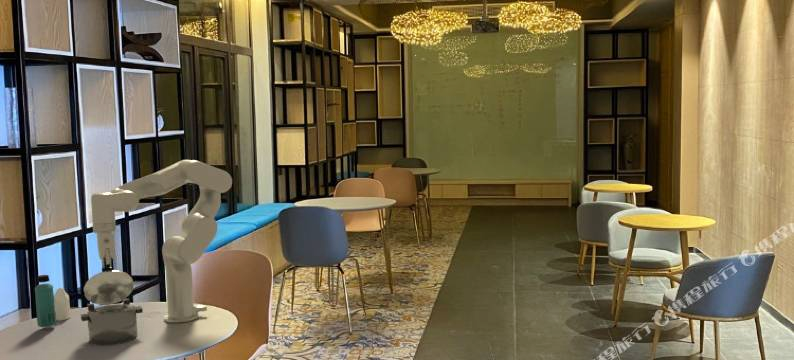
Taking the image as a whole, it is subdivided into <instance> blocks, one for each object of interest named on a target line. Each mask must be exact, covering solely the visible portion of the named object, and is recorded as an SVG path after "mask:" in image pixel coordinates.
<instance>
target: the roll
mask: <svg viewBox="0 0 794 360" xmlns="http://www.w3.org/2000/svg"><path fill="white" fill-rule="evenodd" d="M54 300H55V301H54V302H55V303H54V304H55V311H56V322H57V321H59V322H60V321H65V320H69V319H71V308H70V307H71V306H70V305H71V304H70V294H68V293H67V292H66V291H65V289H64V288H62V287H59V288H57V289H56V291H55V293H54Z"/></svg>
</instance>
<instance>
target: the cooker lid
mask: <svg viewBox="0 0 794 360" xmlns="http://www.w3.org/2000/svg"><path fill="white" fill-rule="evenodd" d="M133 289H134V281H133V278H132V277H131V276H130V274H128V273H127V272H124V271H121V270H117V269H116V270H115V269H114V270H113V269H112V270H110V271H104V272H102V271H101V272H99V273H97V274H94V275H93V276H92V277H90V278H89V279H88V280H87V281H86V283H85V284H84V287H83V292H84V297H85V299H87V301H89V302H90V303H91V304H92V303H94V305H99V306H100V305H101V306H106V305H115V304H118V303H120V302H123V299H127V297H129V296H130V295H131V293H132V292H133Z"/></svg>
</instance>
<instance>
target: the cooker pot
mask: <svg viewBox="0 0 794 360" xmlns="http://www.w3.org/2000/svg"><path fill="white" fill-rule="evenodd" d="M142 313H144V312H143V307H142V306H141V305H139V306H135V305H133V304H131V302H130V299H129V298H125V299H123V300H122V303H120V304H119V303H114V304H109V305H101V306H98V307H95V304H94V303H92V302H91V303H87V312H86V313H83V314H80V320H81V322H87V329H88V340H89V341H88V342H89V343H90V344H91V343H92V345H95V344H96V345H95V346H114V345H120V344H123V343H127V342H131V341H132V340H135V339H136V338H137V337H138V335H139V333H138V323H137V322H138V320H137V314H142Z"/></svg>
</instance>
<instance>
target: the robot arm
mask: <svg viewBox="0 0 794 360" xmlns="http://www.w3.org/2000/svg"><path fill="white" fill-rule="evenodd" d="M188 183H190V184H195V185H198V187H199V197H198V200H197V202H196V203H195V205H194V206H193V208H192V209H191V210H190V212H189V213H188V214H187V216H186V217H185V218H184V219H183V221H182V223H181V232H182V233H183V234H184V235H185V236H182V235H181V236H180V235H173V236H170V237H168V238H167V239H166V240H165V241H164V242H163V245H162V248H161V254H162V259H163V263H164V269H165V270H164V271H165V283H166V299H167V300H166V301H167V313H168V314H166V315H164V316H163V320H164V321H165V322H167V323H173V324H175V323H176V324H177V323H188V322H191V321H195V320H196V319H198V318H199V312H206V311H208V309H207V305H195V304H194V287H193V285H194V284H193V272H192V271H193V270H192V264H195V263H196V262H198V261H199V260H200V259H201V258H202V256H203V255H204V253H205V252H206V250H207V249H208V247H210V245H211V243H213V241H214V239H215V237H216V235H217V232H218V223H217V221H216V219H215V216H216V215H217V213H218V211H219V210H220V207H221V204H222V200H221V199H222V196H221V194H223V193H227V192H228V191H229V190H230V189H231V188H232V184H233V178H232V176H231V175H230V174H229V172H227V171H226V170H223V169H221V168H218V167H215V166H212V165H210V164H207V163H204V162H202V161H199V160H195V159H192V160H191V159H182V160H180V161H177V162H175V163H172V164H171V165H169V166H166V167H165V168H162V169H160V170H158V171H156V172H154V173H151V174H148V175H146V176H142V177H140V178H137V179H136V178H135V179H133V180H131V181H128V182H126V183H124V184H122V185H119V186H117V187H115V188H113V189H112V190H111V191H104V192H95V193H93V194H92V195H91V196H90V197H91V198H90V200H91V201H90V203H91V218H92V220H91V221H92V233H94V234H96V240H97V252H98V257H99V259H100V260H101V272H104V271H110V270H113V267H112V260H116V259H117V258H116V248H115V247H116V246H115V245H116V244H115V237H114V232H116V231H117V230H116V229H117V228H116V213H117V212H121V213H122V212H124V213H127V212H132V211H134V210H135V209H137V207H138V205H140V200H141V199H144V198H145V199H146V198H150V197H157V196H158V197H159V196H162V195H166V194H167V193H169V192H171V191H174V190H175V189H178V188H179V187H182V186H183V185H187V184H188Z"/></svg>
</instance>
